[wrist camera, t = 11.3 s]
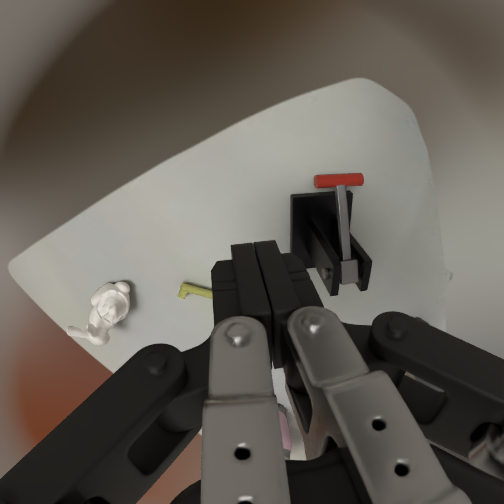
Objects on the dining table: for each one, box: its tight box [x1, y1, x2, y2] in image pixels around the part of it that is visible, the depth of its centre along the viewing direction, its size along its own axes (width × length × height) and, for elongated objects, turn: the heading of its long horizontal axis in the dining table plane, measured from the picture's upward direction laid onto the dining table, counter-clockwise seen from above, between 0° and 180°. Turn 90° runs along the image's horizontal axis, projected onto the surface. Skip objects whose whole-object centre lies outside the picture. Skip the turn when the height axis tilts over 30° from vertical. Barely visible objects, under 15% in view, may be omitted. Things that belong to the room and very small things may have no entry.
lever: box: [314, 173, 364, 285], centre depth 38 cm, size 13×6×2 cm, turn 4°
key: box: [178, 283, 213, 299], centre depth 51 cm, size 7×12×2 cm, turn 81°
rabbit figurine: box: [67, 281, 130, 346], centre depth 45 cm, size 12×8×10 cm, turn 135°
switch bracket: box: [290, 190, 372, 296], centre depth 43 cm, size 12×9×13 cm
